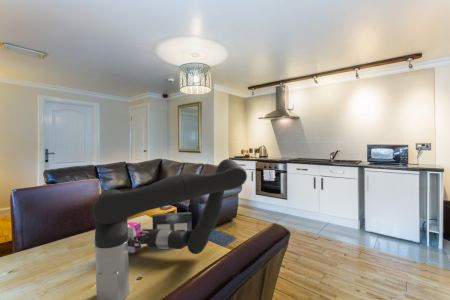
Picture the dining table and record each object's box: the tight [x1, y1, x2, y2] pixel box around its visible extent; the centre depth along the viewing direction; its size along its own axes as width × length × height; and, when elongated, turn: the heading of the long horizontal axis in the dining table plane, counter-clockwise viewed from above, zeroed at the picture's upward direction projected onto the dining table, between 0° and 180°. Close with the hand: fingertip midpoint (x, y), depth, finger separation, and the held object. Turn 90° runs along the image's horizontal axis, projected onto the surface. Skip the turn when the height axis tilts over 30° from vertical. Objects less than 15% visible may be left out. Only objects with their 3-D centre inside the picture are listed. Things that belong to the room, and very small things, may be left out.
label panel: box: [151, 211, 192, 231], centre depth 109 cm, size 2×18×14 cm, turn 98°
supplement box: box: [127, 221, 142, 254], centre depth 99 cm, size 6×6×12 cm
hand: (126, 236), depth 99 cm, fingers closed on supplement box, 5 cm apart
